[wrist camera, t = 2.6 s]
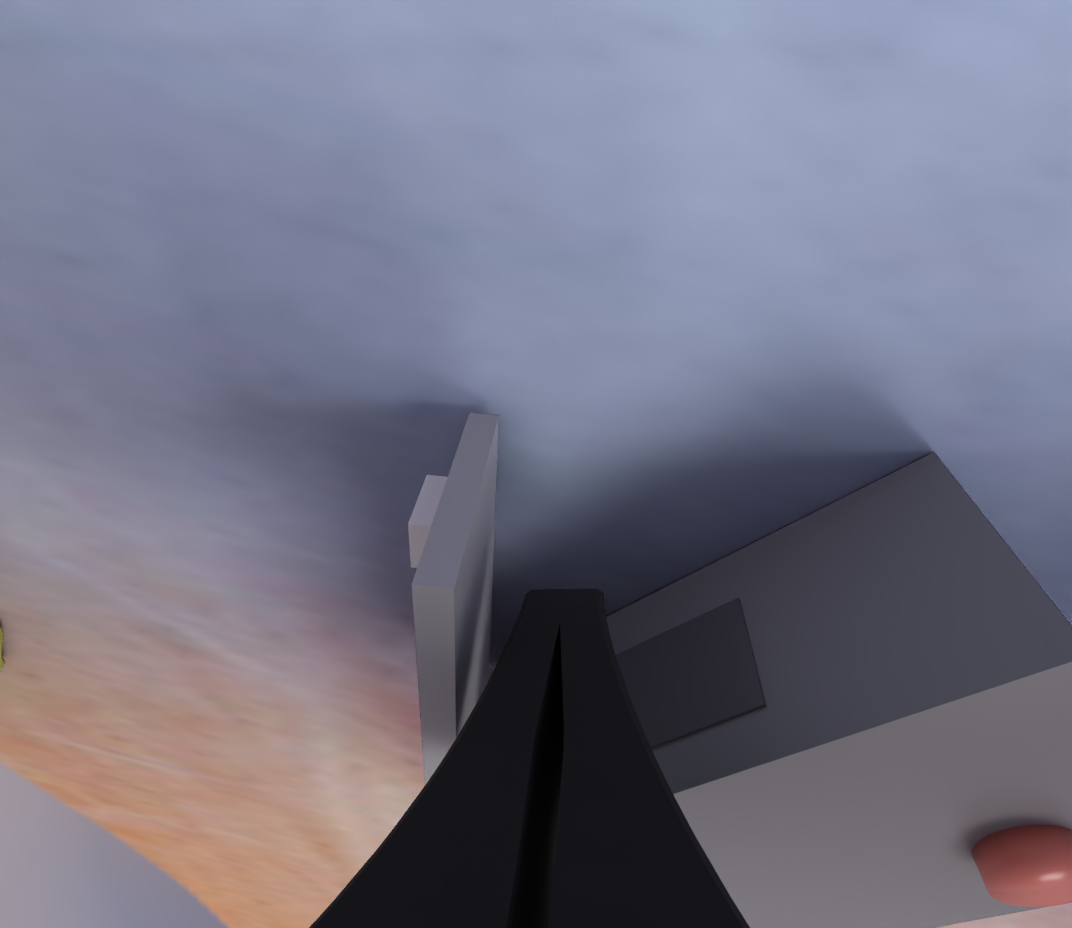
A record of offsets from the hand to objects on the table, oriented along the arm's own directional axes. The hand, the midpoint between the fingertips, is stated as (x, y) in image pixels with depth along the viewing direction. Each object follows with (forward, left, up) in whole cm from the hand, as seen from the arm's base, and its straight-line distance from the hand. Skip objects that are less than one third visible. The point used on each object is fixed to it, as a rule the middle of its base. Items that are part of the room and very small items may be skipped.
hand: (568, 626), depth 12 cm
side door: (+3, 0, -3) cm, 4 cm away
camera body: (-1, +7, -3) cm, 8 cm away
